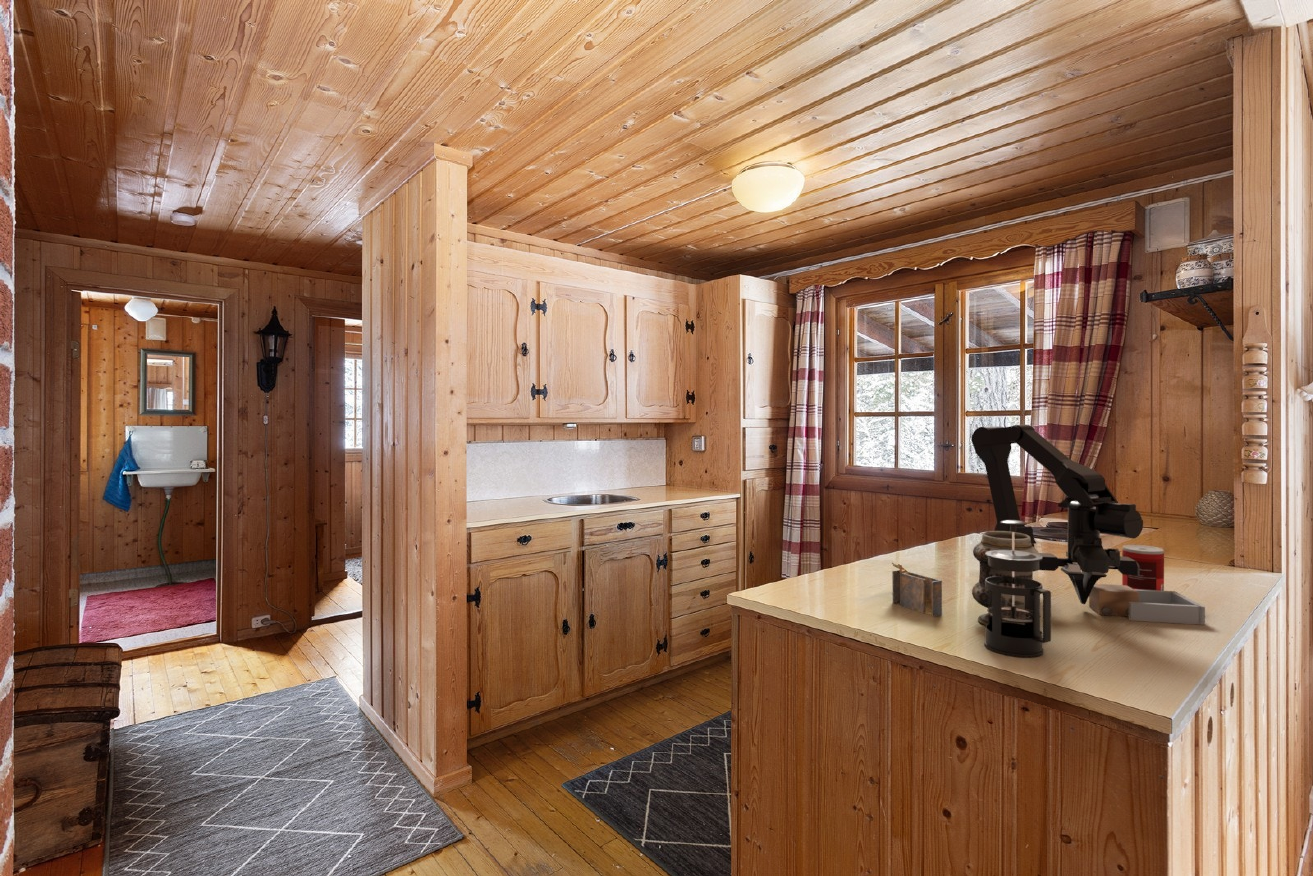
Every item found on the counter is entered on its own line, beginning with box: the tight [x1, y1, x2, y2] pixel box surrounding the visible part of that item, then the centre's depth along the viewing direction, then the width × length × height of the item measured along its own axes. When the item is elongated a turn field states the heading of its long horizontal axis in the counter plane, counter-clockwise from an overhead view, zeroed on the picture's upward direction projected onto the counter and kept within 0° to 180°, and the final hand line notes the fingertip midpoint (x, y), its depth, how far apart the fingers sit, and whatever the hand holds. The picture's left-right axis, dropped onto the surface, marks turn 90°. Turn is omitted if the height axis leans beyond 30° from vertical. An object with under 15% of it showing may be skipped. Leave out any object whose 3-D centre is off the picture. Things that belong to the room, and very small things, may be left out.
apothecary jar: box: [971, 530, 1040, 626], centre depth 130 cm, size 12×12×18 cm
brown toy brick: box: [1088, 583, 1139, 617], centre depth 137 cm, size 7×7×5 cm
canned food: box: [1121, 544, 1165, 591], centre depth 148 cm, size 8×8×11 cm
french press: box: [983, 520, 1052, 659], centre depth 116 cm, size 12×9×23 cm
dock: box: [1128, 589, 1206, 626], centre depth 135 cm, size 12×12×4 cm
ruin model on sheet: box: [891, 562, 943, 617], centre depth 141 cm, size 11×3×10 cm, turn 24°
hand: (1082, 603), depth 138 cm, fingers closed
